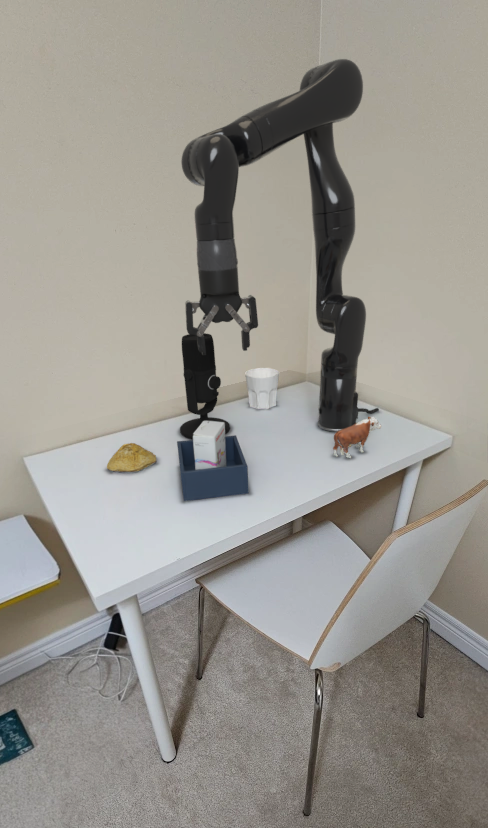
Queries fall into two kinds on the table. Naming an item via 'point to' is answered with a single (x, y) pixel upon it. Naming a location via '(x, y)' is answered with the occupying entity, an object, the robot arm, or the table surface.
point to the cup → (262, 387)
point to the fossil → (131, 459)
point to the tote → (213, 473)
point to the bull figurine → (354, 435)
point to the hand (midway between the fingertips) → (224, 352)
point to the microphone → (200, 382)
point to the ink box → (209, 445)
